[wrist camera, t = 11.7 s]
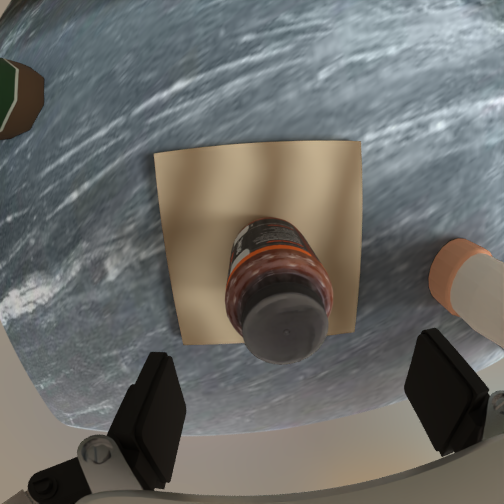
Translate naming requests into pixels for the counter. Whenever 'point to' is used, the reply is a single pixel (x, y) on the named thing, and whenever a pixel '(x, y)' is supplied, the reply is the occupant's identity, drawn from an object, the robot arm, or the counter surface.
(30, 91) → the beer bottle
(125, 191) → the counter surface
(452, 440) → the robot arm
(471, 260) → the pepper shaker
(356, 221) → the birch board
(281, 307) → the supplement bottle
